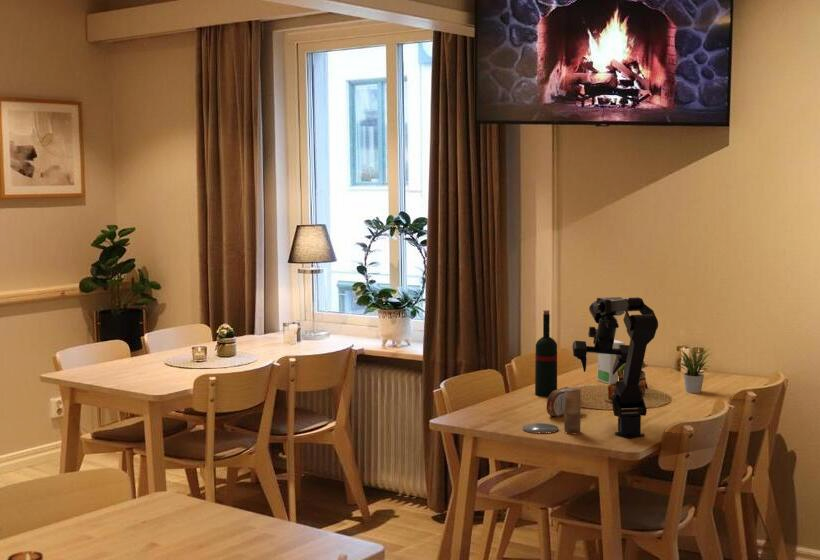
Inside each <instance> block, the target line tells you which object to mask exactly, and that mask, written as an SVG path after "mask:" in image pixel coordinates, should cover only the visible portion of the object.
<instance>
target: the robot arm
mask: <svg viewBox="0 0 820 560" xmlns="http://www.w3.org/2000/svg"><path fill="white" fill-rule="evenodd" d="M588 310H589V313H590V315H591V317H592V318H593V320H594V321H595V323H596V324H597V328H596V327H595V326H589V327H588V335H587V336H588V337H589V338H593V345H594V346H591V345H587V342H586V341H583V340H574V341H573V342H572V353H573V354H572V355H573V357H575V358H576V359H578V360H580V362H581V364H582V370H583V372H584V373H585V372H587V371H586V370H587V360H588V359H587V355H588V354H613V355H616V360H615V363H614V366H613V370H612V374H613V375H614V374H615V372H616V371H617V370H618V369H619V368H620V367H621V366H622V365H623V364H624V370H623V380H622V381H617V382H616V383H615V384H614V390H613V393H612V397H611V402H612V404H611V405H612V411H613V416H614V417H618V418H617V431H615V432H614V435H617V436H621V437H623V438H626V439H631V438H632V439H633V438H639V437H644V436H645V435H646V434H645V433H643V432H641V431H642V430H641V429H642V427H641V426H642V425H641V424H642V416H647V413H648V412H647V411H648V409H647V406H646V403H645V400H644V397H643V392H642V390H641V388H640V386H639V385H640V380H641V375H642V372H643V366H644V360H645V356H646V351H647V345H648V344H650V343H651V341H653V339H655V336H656V333H657V330H658V329H659V328H658V327H659V321H658V318H657V316H656V314H655V311H654V310H653V309H652V308H650V307H649V306H648V305H646V303H645V302H644V300H643V298H641V297H639V296H638V297H637V296H635V297H626V298H623V297H620V296H619V297H618V296H616V297H615V296H613V297H611V296H610V297H597V298H596V301H593V302H592V303H591V304H590V305H589V308H588ZM629 312H639V313H640V314H631V315H630V314H629ZM622 315H624V316H623V320H622V321H623V323H624V325H625V327H626V333H627V335H628V337H629V339H630V341H629V344H627V345H626V344H625V345H619V349H618V348H613V343H614V340H615V337H616V331H617V329H618V328H619V325H620V324H619V323H618V319H617V317H618V316H622ZM616 316H617V317H616Z"/></svg>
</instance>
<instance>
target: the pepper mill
mask: <svg viewBox="0 0 820 560" xmlns="http://www.w3.org/2000/svg"><path fill="white" fill-rule="evenodd" d="M568 388H569V389H565V410H564V415H563V416H564V419H563V420H564V425H563V426H564V427H563V430H564V431H565V432H567V433H579V432H580V433H581V410H582V409H581V408H582V407H581V405H582V403H581V401H582V400H581V399H582V395H581V393H582V391H581V389H580V388H575V387H573V388H571V387H568ZM565 432H564V433H565ZM567 433H566V434H567ZM580 433H579V434H580Z"/></svg>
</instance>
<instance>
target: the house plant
mask: <svg viewBox="0 0 820 560" xmlns="http://www.w3.org/2000/svg"><path fill="white" fill-rule="evenodd" d="M709 350H711V349H705V350H704V351H702V352H700V353H699V355H698V358H697V352H696V351H695V349H693V348H691V349H689V351H690V352H691V355H692V357H691V355H690V356H688V355H687V354H686V352H684V351H683V350H681V349H680V350H679V351H680V352H681V353H682V354H683V355H682V354H680V356H681V357H682V361H683V362H678V364H680V365H681V366H679V367H678V369H684V370H685V371H686V372H684V373H683V380H684V381H683V382H684V387H685V392H686V393H687V394H688V393H689V394H700V393H701V392H702V389H703V383H704V378H705V375H704V374H703V373H701V371H702V370H707V371H709V369H708V368H710V369H711V366H710V365H707V367H708V368H705V367H706V364H707V363H708V362H710V361H705V360H706V359H707V357H708V356H709V355H712V354H714V352H712V353H708V354H707V355H706V353H707V352H708V351H709ZM704 361H705V362H704ZM682 366H683V367H682ZM684 367H685V368H684Z"/></svg>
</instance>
